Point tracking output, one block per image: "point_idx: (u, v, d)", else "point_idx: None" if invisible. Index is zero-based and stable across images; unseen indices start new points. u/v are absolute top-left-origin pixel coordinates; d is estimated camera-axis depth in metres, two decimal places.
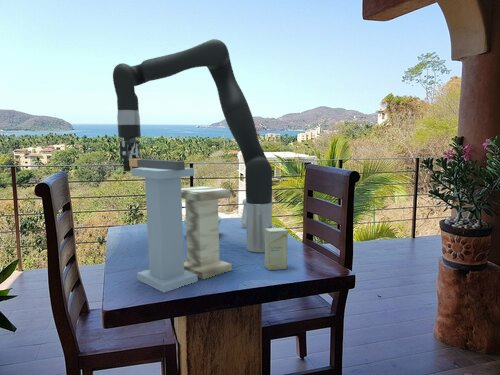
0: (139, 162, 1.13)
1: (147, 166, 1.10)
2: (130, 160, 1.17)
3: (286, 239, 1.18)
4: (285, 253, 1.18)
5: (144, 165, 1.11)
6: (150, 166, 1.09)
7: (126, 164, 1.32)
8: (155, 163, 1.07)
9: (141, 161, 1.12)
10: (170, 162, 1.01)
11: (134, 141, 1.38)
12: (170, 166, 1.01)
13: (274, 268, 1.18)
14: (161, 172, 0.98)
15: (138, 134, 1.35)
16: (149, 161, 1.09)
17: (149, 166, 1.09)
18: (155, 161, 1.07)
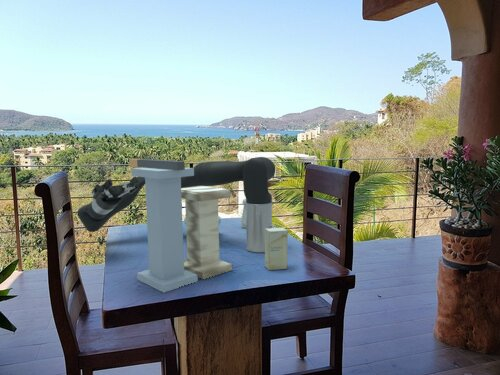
0: (139, 162, 1.13)
1: (147, 166, 1.10)
2: (130, 160, 1.17)
3: (286, 239, 1.18)
4: (285, 253, 1.18)
5: (144, 165, 1.11)
6: (150, 166, 1.09)
7: (104, 184, 1.22)
8: (155, 163, 1.07)
9: (141, 161, 1.12)
10: (170, 162, 1.01)
11: None
12: (170, 166, 1.01)
13: (274, 268, 1.18)
14: (161, 172, 0.98)
15: None
16: (149, 161, 1.09)
17: (149, 166, 1.09)
18: (155, 161, 1.07)
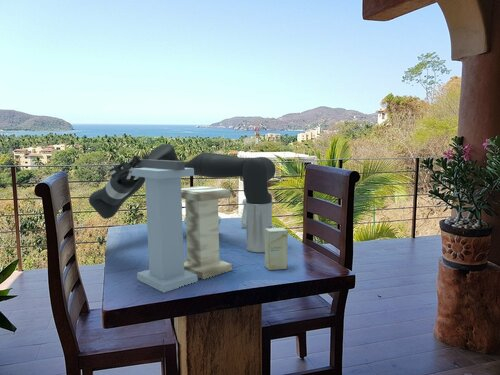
0: None
1: (147, 166, 1.10)
2: (130, 160, 1.17)
3: (286, 239, 1.18)
4: (285, 253, 1.18)
5: (144, 165, 1.11)
6: (150, 166, 1.09)
7: (132, 161, 1.14)
8: (155, 163, 1.07)
9: (141, 161, 1.12)
10: (170, 162, 1.01)
11: None
12: (170, 166, 1.01)
13: (274, 268, 1.18)
14: (161, 172, 0.98)
15: None
16: (149, 161, 1.09)
17: (149, 166, 1.09)
18: (155, 161, 1.07)
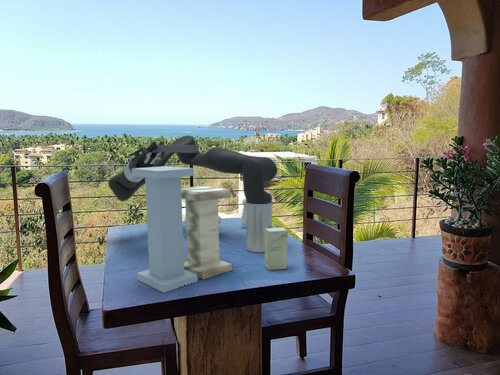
0: None
1: (164, 150, 1.25)
2: (147, 146, 1.32)
3: (286, 239, 1.18)
4: (285, 253, 1.18)
5: (161, 150, 1.26)
6: (166, 150, 1.23)
7: (149, 147, 1.28)
8: (171, 147, 1.21)
9: (158, 146, 1.27)
10: (185, 146, 1.16)
11: None
12: (186, 149, 1.16)
13: (274, 268, 1.18)
14: (161, 172, 0.98)
15: None
16: (165, 146, 1.24)
17: (165, 150, 1.24)
18: (171, 146, 1.21)
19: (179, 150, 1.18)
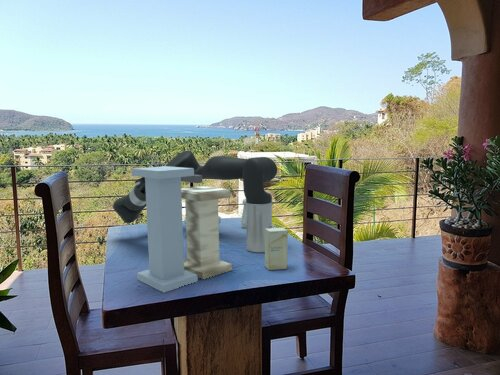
0: None
1: None
2: None
3: (286, 239, 1.18)
4: (285, 253, 1.18)
5: None
6: None
7: None
8: None
9: None
10: (190, 176, 1.18)
11: None
12: (190, 179, 1.18)
13: (274, 268, 1.18)
14: (161, 172, 0.98)
15: None
16: None
17: None
18: None
19: (184, 179, 1.20)
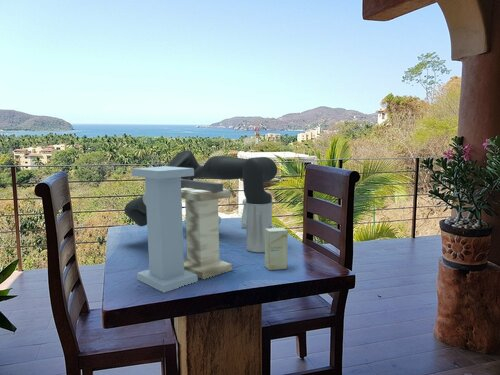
0: None
1: (186, 186, 1.20)
2: None
3: (286, 239, 1.18)
4: (285, 253, 1.18)
5: (183, 185, 1.21)
6: (189, 186, 1.19)
7: None
8: (194, 183, 1.17)
9: None
10: (209, 184, 1.11)
11: None
12: (210, 187, 1.11)
13: (274, 268, 1.18)
14: (161, 172, 0.98)
15: None
16: (188, 182, 1.19)
17: (188, 186, 1.19)
18: (194, 182, 1.17)
19: (203, 188, 1.14)
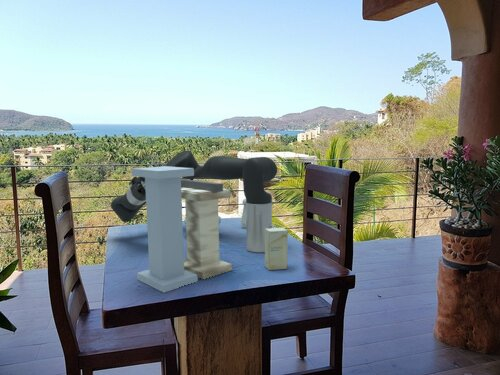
0: None
1: (186, 186, 1.20)
2: None
3: (286, 239, 1.18)
4: (285, 253, 1.18)
5: (183, 185, 1.21)
6: (189, 186, 1.19)
7: None
8: (194, 183, 1.17)
9: None
10: (209, 184, 1.11)
11: None
12: (210, 187, 1.11)
13: (274, 268, 1.18)
14: (161, 172, 0.98)
15: None
16: (188, 182, 1.19)
17: (188, 186, 1.19)
18: (194, 182, 1.17)
19: (203, 188, 1.14)
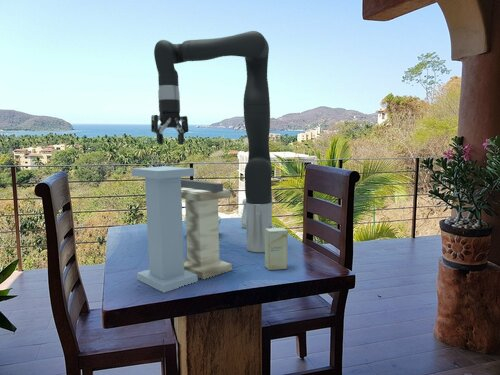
0: None
1: (186, 186, 1.20)
2: None
3: (286, 239, 1.18)
4: (285, 253, 1.18)
5: (183, 185, 1.21)
6: (189, 186, 1.19)
7: (158, 137, 1.38)
8: (194, 183, 1.17)
9: None
10: (209, 184, 1.11)
11: (175, 116, 1.41)
12: (210, 187, 1.11)
13: (274, 268, 1.18)
14: (161, 172, 0.98)
15: (172, 108, 1.37)
16: (188, 182, 1.19)
17: (188, 186, 1.19)
18: (194, 182, 1.17)
19: (203, 188, 1.14)
